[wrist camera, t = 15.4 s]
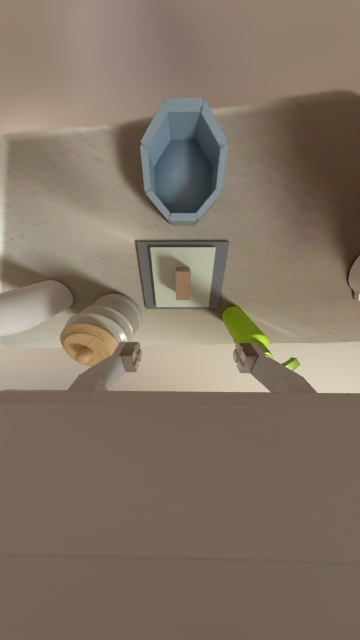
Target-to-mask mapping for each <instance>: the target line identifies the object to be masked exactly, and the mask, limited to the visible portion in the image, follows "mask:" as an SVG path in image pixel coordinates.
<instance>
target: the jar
mask: <svg viewBox="0 0 360 640" xmlns="http://www.w3.org/2000/svg"><path fill="white" fill-rule="evenodd" d="M140 324H141V312H140V309H139V307H138V306H137V304H136V303H135V302H134V301H133V300H131V299H130V298H128V297H126V296H124V295H121V294H108V295H105V296H102V297H100V298H99V299H97V300H96V301H95V302H94V303H93V304H92V305H90V306H89V307H86V308H84V309H83V310H82V311H81V312H80V313H79V314H76V315H74V316H72V317H71V318H70V319H69V320H68V321H67V323H66V326H65V328H64V329H63V331H62V332H61V335H60V340H61V344H62V346H63V348H64V349H65V351H66V352H67V354H68V355H69V356H70V357H71V358H73V359H74V360H75V361H77V362H79V363H81V364H84V365H87V366H94V365H96V364H97V363H99V362H101V361H102V360H104V359H105V358H107V357H108V356H112V354H113V353H114V351H115V349H116V348H117V346H118V345H119V343H120V342H132V341H133V338H134V335H135V333H136V331H137V330H138V329H139V327H140Z"/></svg>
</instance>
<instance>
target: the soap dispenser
mask: <svg viewBox="0 0 360 640" xmlns="http://www.w3.org/2000/svg"><path fill="white" fill-rule="evenodd" d="M222 319H223V321H224V323H225V325H226V327H227V329H228V331H229V332H230V334H231V336H232V338H233V340H234V342H235V344H236V343H257V344H258V346H259V347H260V348H261V350H262V351H263V352H264V354H265V355H266V356H267V357H270V358H271V359H272V358H273V356H272V354H271V353H270V351H269V350H268V349H267V347H268V345H269V340H268V338H267V337H266V336H265V335H264V334H263V333H262V331H261V330H260V329H259V328H258V327H257V326H256V325H255V324H254V323H253V322H252V320H251V319H250V318H249V317H248V316H247V315H246V314H245V313H244V312H243V310H242V309H241V308H239V307H237V306H232V307H229V308H227V309H226V310H225V311H224V312H223V314H222ZM282 365H283V366H285V367H287V368H288V369H290V370H292V371H293V370H294V369H296V368H297V367H298V366H299V365H300V363H299V362H298V360H297V358H290V359H289V360H288V361H286V362H285V363H283V364H282Z"/></svg>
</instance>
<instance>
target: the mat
mask: <svg viewBox="0 0 360 640" xmlns="http://www.w3.org/2000/svg"><path fill="white" fill-rule="evenodd" d="M228 245H229V242H137V249H138V256H139V263H140V270H141V277H142V283H143V290H144V297H145V304H146V309H218V306H219V300H220V294H221V288H222V282H223V276H224V270H225V263H226V257H227V251H228ZM150 247H216V250H215V258H214V266H213V275H212V283H211V291H210V299H209V307H156V299H155V290H154V280H153V270H152V260H151V250H150Z"/></svg>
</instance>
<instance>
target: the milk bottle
mask: <svg viewBox="0 0 360 640" xmlns="http://www.w3.org/2000/svg"><path fill="white" fill-rule="evenodd" d="M72 303H73V295H72V293H71V291H70V290H69V289H68V288H67V287H66V286H65V285H64V284H62V283H60V282H58V281H54V280H47V281H43V282H39V283H35V284H32V285H28V286H25V287H21V288H18V289H14V290H11V291H7V292H4V293H1V294H0V336H5V335H11V334H16V333H20V332H23V331H26V330H28V329H30V328H32V327H34V326H36V325H38V324H40V323H42V322H43V321H45V320H47V319H49V318H51V317H52V316H54V315H56V314H58V313H59V312H61V311H63V310H65V309H66V308H68V307H70V306H71V305H72Z"/></svg>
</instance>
